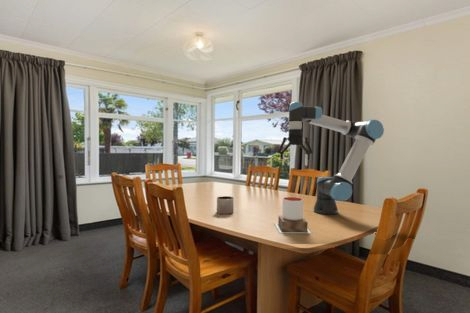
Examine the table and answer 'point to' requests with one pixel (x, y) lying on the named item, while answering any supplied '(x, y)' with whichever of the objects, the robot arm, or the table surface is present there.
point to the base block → (292, 225)
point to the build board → (291, 232)
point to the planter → (225, 205)
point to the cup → (292, 208)
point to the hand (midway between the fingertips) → (294, 165)
